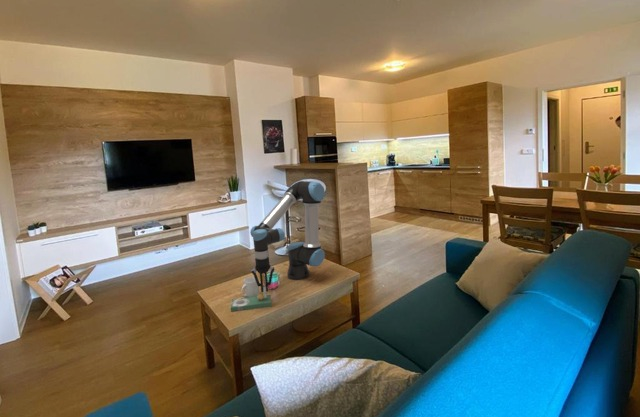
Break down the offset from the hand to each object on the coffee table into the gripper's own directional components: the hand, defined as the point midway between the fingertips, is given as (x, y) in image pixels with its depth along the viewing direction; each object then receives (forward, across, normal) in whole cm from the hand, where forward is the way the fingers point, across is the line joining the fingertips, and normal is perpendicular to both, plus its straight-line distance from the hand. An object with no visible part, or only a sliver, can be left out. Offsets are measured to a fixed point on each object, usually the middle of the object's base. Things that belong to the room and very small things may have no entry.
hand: (265, 296), depth 191 cm
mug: (+4, +9, -10) cm, 14 cm away
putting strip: (+4, +8, 0) cm, 9 cm away
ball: (0, +2, 0) cm, 3 cm away
